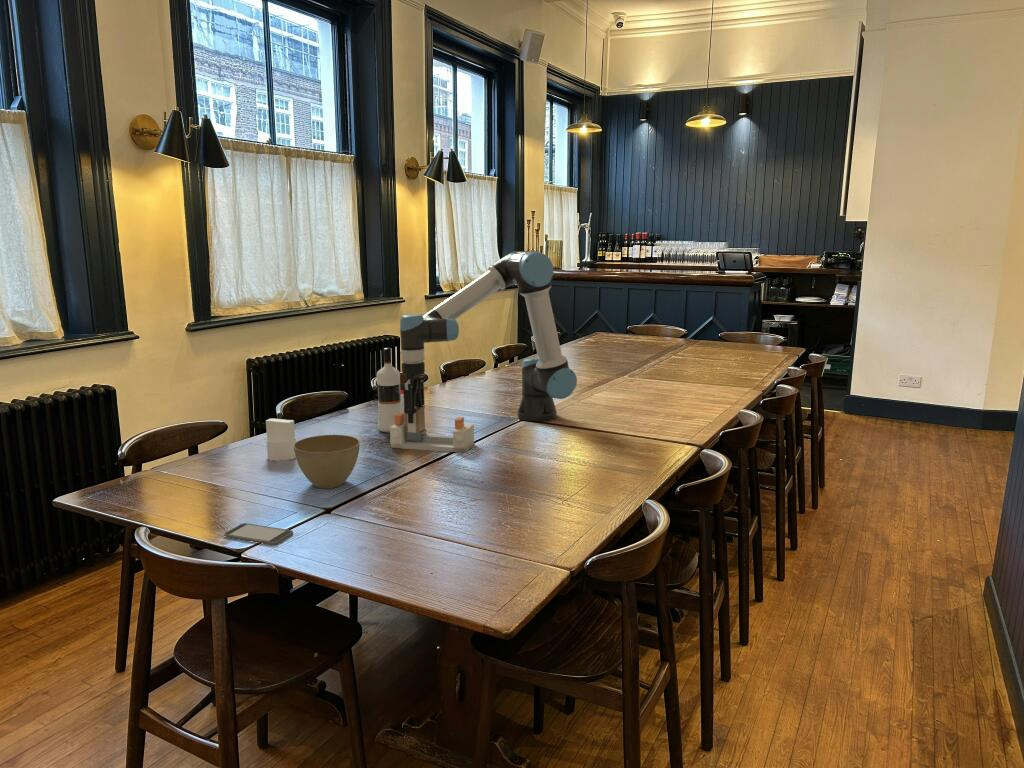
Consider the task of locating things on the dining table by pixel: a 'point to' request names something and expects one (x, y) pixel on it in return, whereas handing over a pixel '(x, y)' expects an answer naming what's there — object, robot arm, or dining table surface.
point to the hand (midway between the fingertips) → (415, 429)
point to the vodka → (388, 393)
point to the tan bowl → (327, 458)
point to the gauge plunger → (399, 418)
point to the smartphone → (259, 534)
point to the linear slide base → (436, 439)
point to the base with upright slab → (280, 439)
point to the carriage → (419, 425)
